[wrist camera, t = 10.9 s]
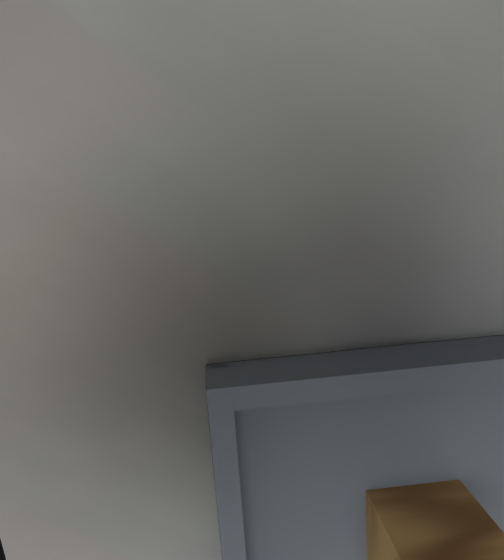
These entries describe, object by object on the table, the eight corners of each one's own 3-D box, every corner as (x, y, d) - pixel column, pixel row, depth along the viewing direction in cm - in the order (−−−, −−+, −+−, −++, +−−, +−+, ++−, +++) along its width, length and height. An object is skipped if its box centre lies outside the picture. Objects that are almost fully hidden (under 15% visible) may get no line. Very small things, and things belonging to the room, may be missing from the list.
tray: (596, 325, 22) (645, 344, 19) (565, 639, 26) (603, 688, 23) (206, 364, 20) (205, 389, 18) (237, 688, 24) (240, 745, 22)
